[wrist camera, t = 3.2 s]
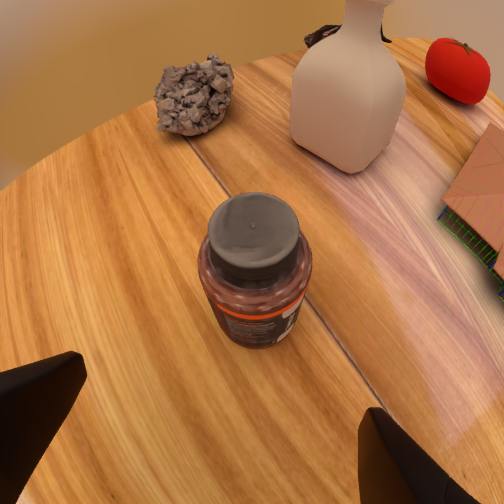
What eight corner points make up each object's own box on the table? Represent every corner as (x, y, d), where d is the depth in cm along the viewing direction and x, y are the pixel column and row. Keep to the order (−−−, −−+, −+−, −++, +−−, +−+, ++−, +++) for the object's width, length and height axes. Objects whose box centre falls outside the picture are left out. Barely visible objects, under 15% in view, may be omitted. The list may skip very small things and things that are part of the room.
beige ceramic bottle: (353, 187, 29) (409, -43, 9) (280, 142, 32) (285, -63, 12) (391, 147, 32) (441, -28, 12) (327, 111, 35) (347, -54, 15)
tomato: (475, 96, 42) (492, 52, 32) (479, 125, 36) (503, 72, 26) (421, 69, 45) (434, 23, 35) (415, 91, 40) (432, 34, 30)
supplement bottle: (308, 335, 22) (347, 266, 12) (230, 360, 21) (201, 312, 11) (280, 267, 24) (291, 164, 15) (209, 289, 24) (173, 195, 14)
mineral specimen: (216, 62, 36) (196, 24, 26) (264, 97, 36) (254, 61, 26) (156, 122, 38) (120, 98, 28) (199, 162, 38) (169, 144, 28)
